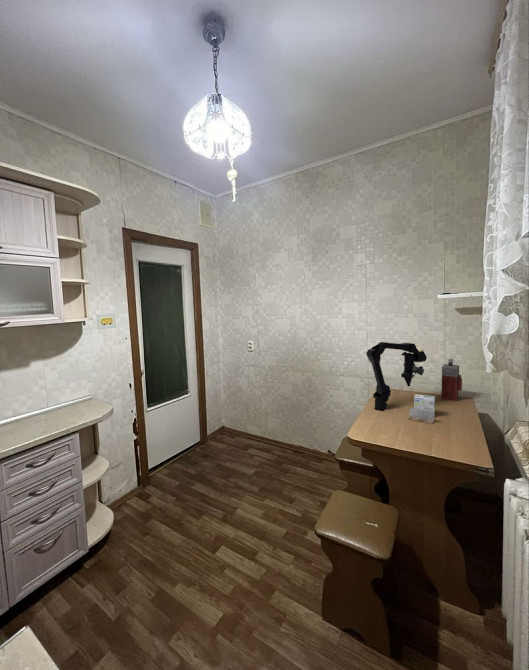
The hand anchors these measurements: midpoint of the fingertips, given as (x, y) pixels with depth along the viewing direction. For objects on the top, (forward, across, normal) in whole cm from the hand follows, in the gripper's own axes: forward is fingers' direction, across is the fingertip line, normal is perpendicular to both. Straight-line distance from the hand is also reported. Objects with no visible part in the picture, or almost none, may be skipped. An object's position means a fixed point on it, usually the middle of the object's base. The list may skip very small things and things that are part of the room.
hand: (408, 386), depth 182 cm
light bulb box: (+13, -11, -10) cm, 20 cm away
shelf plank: (+13, -25, -10) cm, 30 cm away
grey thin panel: (+13, -23, -10) cm, 28 cm away
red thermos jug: (+13, +29, -22) cm, 38 cm away
